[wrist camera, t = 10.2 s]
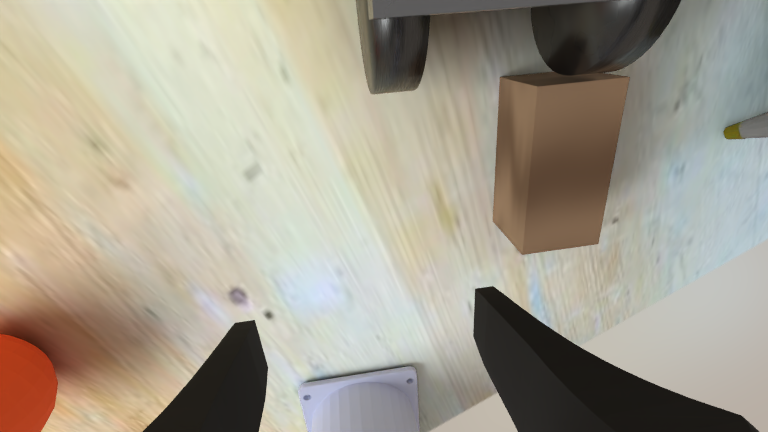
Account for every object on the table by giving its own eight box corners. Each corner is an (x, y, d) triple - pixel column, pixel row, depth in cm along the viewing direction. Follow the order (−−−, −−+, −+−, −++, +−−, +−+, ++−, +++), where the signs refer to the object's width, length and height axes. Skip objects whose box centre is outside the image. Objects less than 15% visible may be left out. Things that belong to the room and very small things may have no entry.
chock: (498, 76, 19) (537, 86, 16) (574, 69, 20) (629, 76, 16) (491, 219, 23) (522, 254, 19) (556, 211, 23) (598, 243, 19)
